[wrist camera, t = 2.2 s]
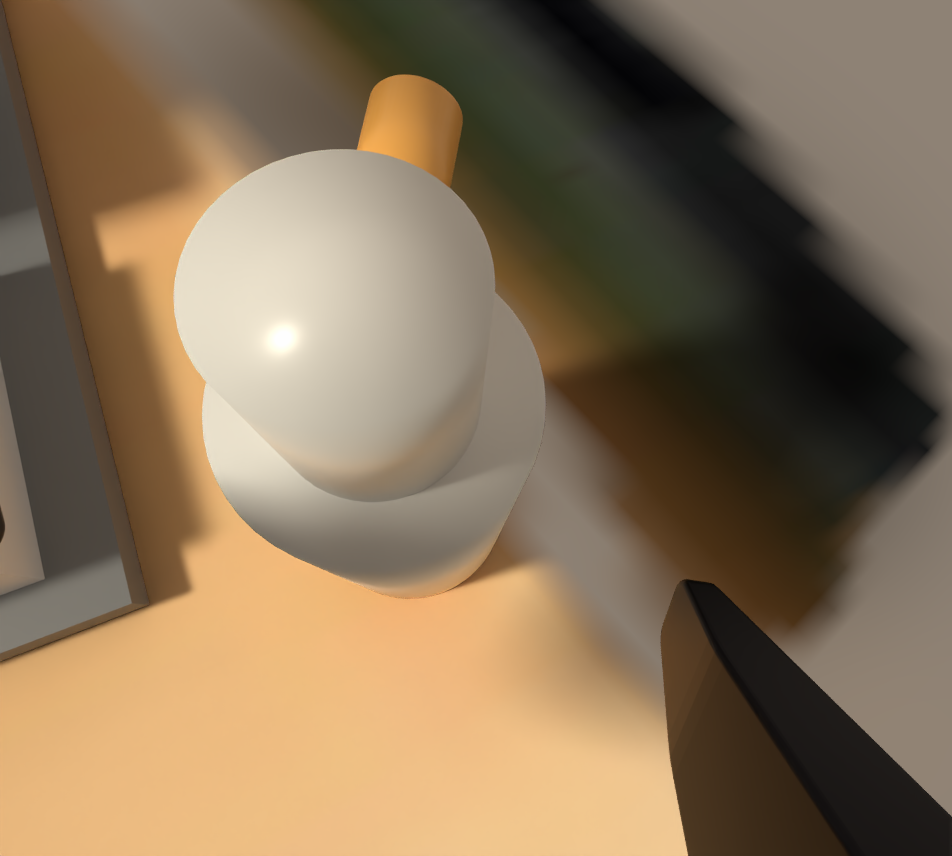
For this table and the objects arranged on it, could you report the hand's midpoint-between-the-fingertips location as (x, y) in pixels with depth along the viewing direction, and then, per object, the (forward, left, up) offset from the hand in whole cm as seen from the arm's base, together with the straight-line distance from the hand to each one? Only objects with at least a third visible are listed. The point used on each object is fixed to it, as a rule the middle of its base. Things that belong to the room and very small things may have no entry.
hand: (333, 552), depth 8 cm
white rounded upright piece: (+2, -1, -10) cm, 10 cm away
